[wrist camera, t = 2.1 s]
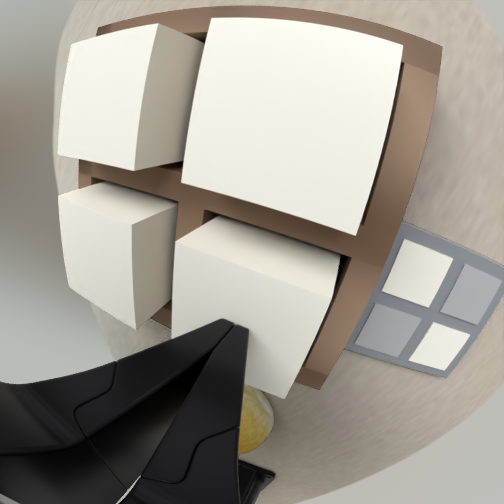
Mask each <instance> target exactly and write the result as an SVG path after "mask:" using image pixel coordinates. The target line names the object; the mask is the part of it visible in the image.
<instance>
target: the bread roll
mask: <svg viewBox="0 0 504 504" xmlns="http://www.w3.org/2000/svg"><path fill="white" fill-rule="evenodd" d="M273 424H274V414H273V410H272V407H271V405H270V403H269V401H268V400H267V398H266V396H265V395H264V394H263V392H262V391H260V390H259V389H257V388H254V387H252V386H249V385H247V384H244V394H243V404H242V414H241V424H240V436H239V450H238V454H243V453H247V452H250V451H251V450H253V449H255V448H256V447H258V446H259V445H260V444H262V443H263V441H264V440H265V439H266V438H267V437H268V435H269V434H270V432H271V430H272V428H273Z"/></svg>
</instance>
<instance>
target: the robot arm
mask: <svg viewBox="0 0 504 504" xmlns="http://www.w3.org/2000/svg"><path fill="white" fill-rule="evenodd" d="M248 341H249V329H248V328H246V327H244V326H241V325H239V324H236V325H235V324H234V322H231V321H229V320H226V319H224V318H221V319H218V320H216V321H213V322H211V323H209V324H206V325H204V326H202V327H199V328H197V329H195V330H192V331H190V332H188V333H185V334H183V335H180V336H178V337H175V338H173V339H171V340H168V341H166V342H163V343H161V344H158V345H156V346H153V347H151V348H148V349H145V350H143V351H140V352H138V353H135V354H133V355H130V356H127V357H125V358H122V359H119V360H118V361H117V362H116V361H114V362H111V363H108V364H105V365H103V366H100V367H97V368H94V369H91V370H87V371H84V372H80V373H76V374H73V375H68V376H64V377H59V378H54V379H49V380H45V381H39V382H34V383H28V384H9V383H4V382H0V504H116V503H117V502H118V500H119V499H120V498H121V497H122V496H123V495H124V494H125V493H126V492H127V489H129V488H130V487H131V486H132V484H133V483H134V482H135V481H136V480H137V478H138V477H139V476H140V475H141V478H139V479H138V481H137V482H136V484H135V485H134V487H133V488H132V489H131V491H130V492H129V493H128V495H127V496H126V497H125V498H124V499H123V500H122V501H121V502H120V503H119V504H255V502H256V500H257V497H258V495H259V493H260V491H262V490H263V489H264V488H265V487H266V486H267V485H268V484H269V483H270V482H271V481H272V480H274V478H275V476H276V475H275V474H274V473H272V472H269V471H266V470H263V469H260V468H257V467H254V466H252V465H249V464H246V463H244V462H241V461H239V460H238V450H239V436H240V424H241V414H242V404H243V394H244V383H245V373H246V362H247V352H248Z"/></svg>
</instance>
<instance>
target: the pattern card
mask: <svg viewBox="0 0 504 504" xmlns="http://www.w3.org/2000/svg"><path fill="white" fill-rule="evenodd" d="M503 293H504V266H503V265H501V264H500V263H497V262H495V261H493V260H491V259H489V258H487V257H485V256H483V255H481V254H479V253H477V252H475V251H472V250H470V249H468V248H466V247H464V246H461V245H459V244H457V243H455V242H452V241H450V240H448V239H446V238H443V237H441V236H438V235H436V234H434V233H431V232H429V231H426V230H424V229H422V228H419V227H417V226H414V225H411V224H409V223H406V222H404V221H402V222H401V225H400V227H399V230H398V233H397V235H396V238H395V240H394V243H393V246H392V248H391V251H390V253H389V255H388V258H387V260H386V263H385V265H384V267H383V270H382V272H381V274H380V277H379V279H378V281H377V283H376V285H375V288H374V290H373V292H372V294H371V296H370V298H369V301H368V303H367V305H366V307H365V309H364V311H363V313H362V315H361V317H360V319H359V321H358V323H357V325H356V327H355V329H354V330H353V332H352V334H351V336H350V338H349V340H348V342H347V344H346V345H345V347H344V348H345V349H348V350H351V351H354V352H357V353H360V354H364V355H367V356H370V357H373V358H376V359H380V360H383V361H386V362H390V363H393V364H396V365H400V366H403V367H407V368H410V369H414V370H418V371H421V372H425V373H429V374H433V375H436V376H440V377H444V378H446V377H447V376H448V375H449V374H450V372H451V371H452V370H453V369H454V367H455V366H456V365H457V364H458V362H459V361H460V360H461V358H462V357H463V356H464V354H465V353H466V352H467V350H468V349H469V348H470V346H471V345H472V343H473V342H474V340H475V339H476V338H477V336H478V335H479V333H480V332H481V330H482V329H483V327H484V325H485V324H486V322H487V321H488V319H489V317H490V316H491V314H492V313H493V311H494V309H495V307H496V306H497V304H498V302H499V300H500V299H501V297H502V295H503Z"/></svg>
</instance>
